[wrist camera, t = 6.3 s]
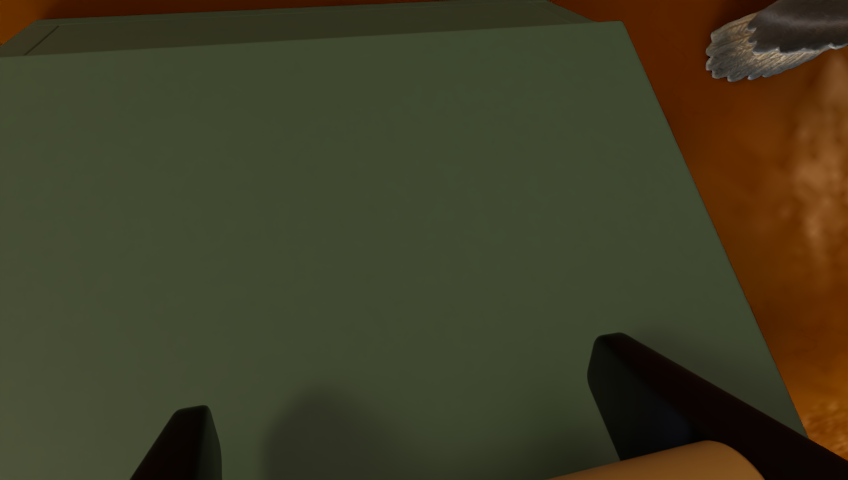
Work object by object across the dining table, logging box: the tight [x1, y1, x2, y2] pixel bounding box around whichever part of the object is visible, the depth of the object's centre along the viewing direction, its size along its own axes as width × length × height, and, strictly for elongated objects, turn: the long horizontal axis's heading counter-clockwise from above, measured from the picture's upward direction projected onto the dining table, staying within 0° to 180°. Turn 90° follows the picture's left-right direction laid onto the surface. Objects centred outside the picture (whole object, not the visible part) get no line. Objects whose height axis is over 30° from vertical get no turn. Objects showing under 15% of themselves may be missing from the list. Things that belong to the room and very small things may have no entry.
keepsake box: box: [0, 0, 595, 57], centre depth 18 cm, size 12×15×4 cm
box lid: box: [0, 21, 809, 480], centre depth 9 cm, size 12×15×5 cm
